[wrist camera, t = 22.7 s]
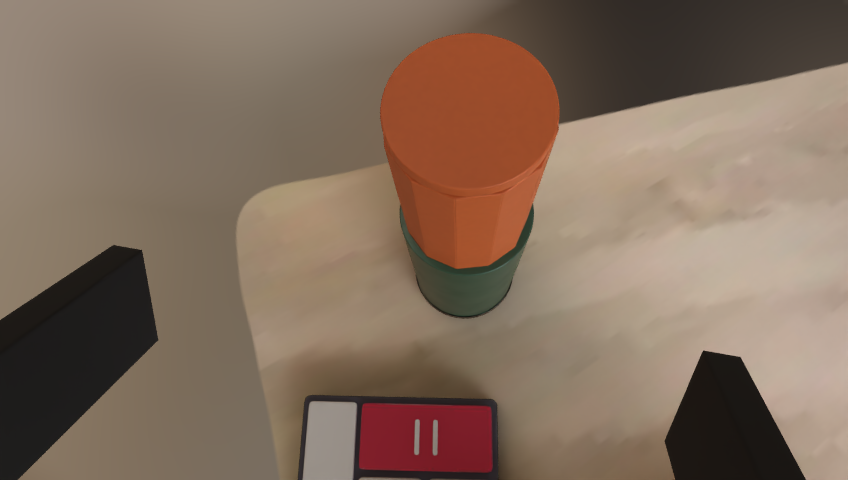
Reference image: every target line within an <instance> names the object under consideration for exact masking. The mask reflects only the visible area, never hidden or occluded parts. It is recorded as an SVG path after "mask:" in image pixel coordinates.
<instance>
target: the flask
mask: <svg viewBox="0 0 848 480" xmlns="http://www.w3.org/2000/svg"><path fill="white" fill-rule="evenodd" d="M533 220H534V208H533V204H532V207H531V209H530V212H529V215H528V218H527V221H526V223H525V225H524V228H523V230H522V232H521V234H520V237H519V239H518V241H517V244H516V246H515V247H514V248H513V249H512V250H510V251H509V252H507V253H506V254H505V255H503V256H502V257H500V258H499V259H498V260H496V261H495V262H493V263H492V264H490V265H488V266H480V267H470V268H461V269H455V268H453V267H450V266H448V265H446V264H443V263H441V262H439V261H436V260H434V259H432V258H430V257H427V256H426V255H425V254H424V252H423V251H422V250H421V248H420V247H419V245H418V244H417V243H416V241H415V240H414V239H413V237H412V236H411V235H410V233H409V231H408V229H407V225H406V222H405V218H404V215H403V211H402V208H401V204H400V223H401V228H402V231H403V234H404V238H405V241H406V244H407V247H408V250H409V253H410V257H411V260H412V263H413V266H414V269H415V273H416V278H417V283H418V286H419V289H420V291H421V293H422V295H423V296H424V298H425V299H426V300H427V302H428V303H429V304H430V305H431V306H432V307H434V308H435V309H436V310H438V311H439V312H441V313H443V314H445V315H448V316H451V317H455V318H463V319H464V318H475V317H479V316H482V315H484V314H486V313H488V312H490V311H492V310H493V309H495V308H496V307H497V306H498V305H499V304H500V303H501V302H502V301H503V299H504V298H505V297H506V295H507V293H508V291H509V289H510V286H511V283H512V279H513V276H514V273H515V271H516V268H517V266H518V263H519V261H520V258H521V256H522V253H523V251H524V248H525V246H526V243H527V241H528V238H529V235H530V233H531V230H532V225H533Z"/></svg>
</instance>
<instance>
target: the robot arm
mask: <svg viewBox="0 0 848 480" xmlns="http://www.w3.org/2000/svg"><path fill="white" fill-rule="evenodd" d="M157 341H158V336H157V331H156V326H155V319H154V314H153V309H152V303H151V297H150V292H149V286H148V281H147V275H146V269H145V264H144V258H143V253H142V250H138V249H132V248H127V247H121V246H116V245H113V246H111V247H110V248H108V249H107V250H105V251H104V252H102V253H101V254H99V255H98V256H96V257H95V258H93V259H92V260H90V261H89V262H87V263H86V264H84V265H83V266H81V267H80V268H78V269H77V270H75V271H74V272H72V273H70V274H69V275H67V276H66V277H64V278H63V279H61V280H60V281H58V282H57V283H55V284H54V285H52V286H51V287H50V288H48V289H46V290H45V291H43V292H42V293H40V294H39V295H38V296H36V297H35V298H33V299H31V300H30V301H28V302H27V303H25V304H24V305H22V306H21V307H19V308H18V309H16V310H15V311H13V312H12V313H10V314H9V315H7V316H6V317H4V318H3V319H1V320H0V480H18V479H19V478H20V477H21V476H22V475H23V474H24V473H25V472H26V471H27V470H28V469H29V468H30V467H31V466H32V465H33V464H34V463H35V462H36V461H37V460H38V459H39V458H40V457H41V456H42V455H43V454H44V453H45V452H46V451H47V450H48V449H49V448H50V447H51V446H52V445H53V444H54V443H55V442H56V441H57V440H58V439H59V438H60V437H61V436H62V435H63V434H64V433H65V432H66V431H67V430H68V429H69V428H70V427H71V426H72V425H73V424H74V423H75V422H76V421H77V420H78V419H79V418H80V417H81V416H82V415H83V414H84V413H85V412H86V411H87V410H88V409H89V408H90V407H91V406H92V405H93V404H94V403H95V402H96V401H97V400H98V399H99V398H100V397H101V396H102V395H103V394H104V393H105V392H106V391H107V390H108V389H109V388H110V387H111V386H112V385H113V384H114V383H115V382H116V381H117V380H118V379H119V378H120V377H121V376H122V375H123V374H124V373H125V372H126V371H127V370H128V369H129V368H130V367H131V366H132V365H134V363H135V362H137V361H138V360H139V359H140V358H141V357H142V355H144V354H145V353H146V352H147V351H148V349H150V347H152V346H153V345H154V344H155V343H156V342H157ZM665 444H666V448H667V451H668V455H669V458H670V462H671V466H672V469H673V473H674V476H675V480H806V479H805V477H804V475H803V474H802V472H801V470H800V468H799V466H798V464H797V462H796V460H795V459H794V457H793V455H792V453H791V451H790V449H789V447H788V445H787V444H786V442H785V440H784V438H783V436H782V434H781V432H780V430H779V429H778V427H777V425H776V423H775V421H774V419H773V417H772V415H771V413H770V412H769V410H768V408H767V406H766V404H765V402H764V400H763V398H762V397H761V395H760V393H759V391H758V389H757V387H756V385H755V383H754V382H753V380H752V378H751V376H750V374H749V372H748V370H747V368H746V367H745V365H744V363H743V361H742V359H741V357H736V356H731V355H725V354H720V353H714V352H708V351H703V352H702V354H701V357H700V359H699V361H698V364H697V366H696V368H695V371H694V373H693V375H692V378H691V380H690V382H689V385H688V387H687V390H686V392H685V394H684V397H683V399H682V401H681V404H680V406H679V408H678V411H677V413H676V415H675V418H674V420H673V422H672V425H671V427H670V429H669V432H668V434H667V436H666V439H665Z"/></svg>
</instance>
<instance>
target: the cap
mask: <svg viewBox="0 0 848 480" xmlns="http://www.w3.org/2000/svg"><path fill="white" fill-rule="evenodd" d="M380 114H381V115H380V119H381V125H382V130H383V135H384V147H385V151H386V154H387V158H388V162H389V165H390V169H391V172H392V176H393V179H394V183H395V186H396V190H397V193H398V197H399V200H400V204H401V208H402V211H403V215H404V218H405V222H406V225H407V229H408V231H409V233H410V235H411V236H412V237H413V239H414V240H415V241H416V243H417V244H418V245H419V247H420V248H421V250H422V251H423V252H424V254H425V255H426V256H427V257H430V258H432V259H434V260H436V261H439V262H441V263H443V264H446V265H448V266H450V267H453V268H455V269H461V268H470V267H480V266H488V265H490V264H492V263H493V262H495V261H496V260H498V259H499V258H500V257H502V256H503V255H505V254H506V253H507V252H509V251H510V250H512V249H513V248H514V247H515V246H516V244H517V241H518V239H519V237H520V234H521V232H522V230H523V228H524V225H525V223H526V221H527V218H528V215H529V212H530V209H531V207H532V204H533V201H534V198H535V195H536V192H537V189H538V187H539V184H540V181H541V178H542V175H543V172H544V170H545V167H546V164H547V161H548V158H549V155H550V153H551V150H552V147H553V144H554V141H555V138H556V135H557V133H558V130H559V129H558V128H559V127H558V121H559V101H558V95H557V92H556V88H555V86H554V83H553V81H552V79H551V77H550V75H549V74H548V72H547V71H546V69H545V68H544V67H543V65H542V64H541V63H540V62H539V61H538V60H537V59H536V58H535V57H534V56H533V55H532V54H531V53H529V52H528V51H527V50H525V49H524V48H522V47H520V46H519V45H517V44H515V43H513V42H511V41H508V40H506V39H503V38H500V37H496V36H493V35H486V34H475V33H466V34H455V35H450V36H446V37H442V38H439V39H436V40H434V41H431V42H429V43H427V44H425V45H423V46H421V47H419V48H418V49H416V50H415V51H414V52H412V53H411V54H409V55H408V56H407V57H406V58H405V59H404V60H403V61H402V62H401V63H400V64H399V66H398V67H397V68H396V69H395V70H394V72H393V74H392V75H391V77H390V78H389V80H388V82H387V85H386V87H385V89H384V93H383V96H382V101H381V107H380Z"/></svg>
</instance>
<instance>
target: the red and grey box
mask: <svg viewBox="0 0 848 480" xmlns="http://www.w3.org/2000/svg"><path fill="white" fill-rule="evenodd" d="M298 480H499V475H498V422H497V403H496V402H495V401H494V400H492V399H461V398H417V397H373V396H329V395H309V396H307V397H306V399H305V402H304V413H303V425H302V436H301V448H300V459H299V471H298Z"/></svg>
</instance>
